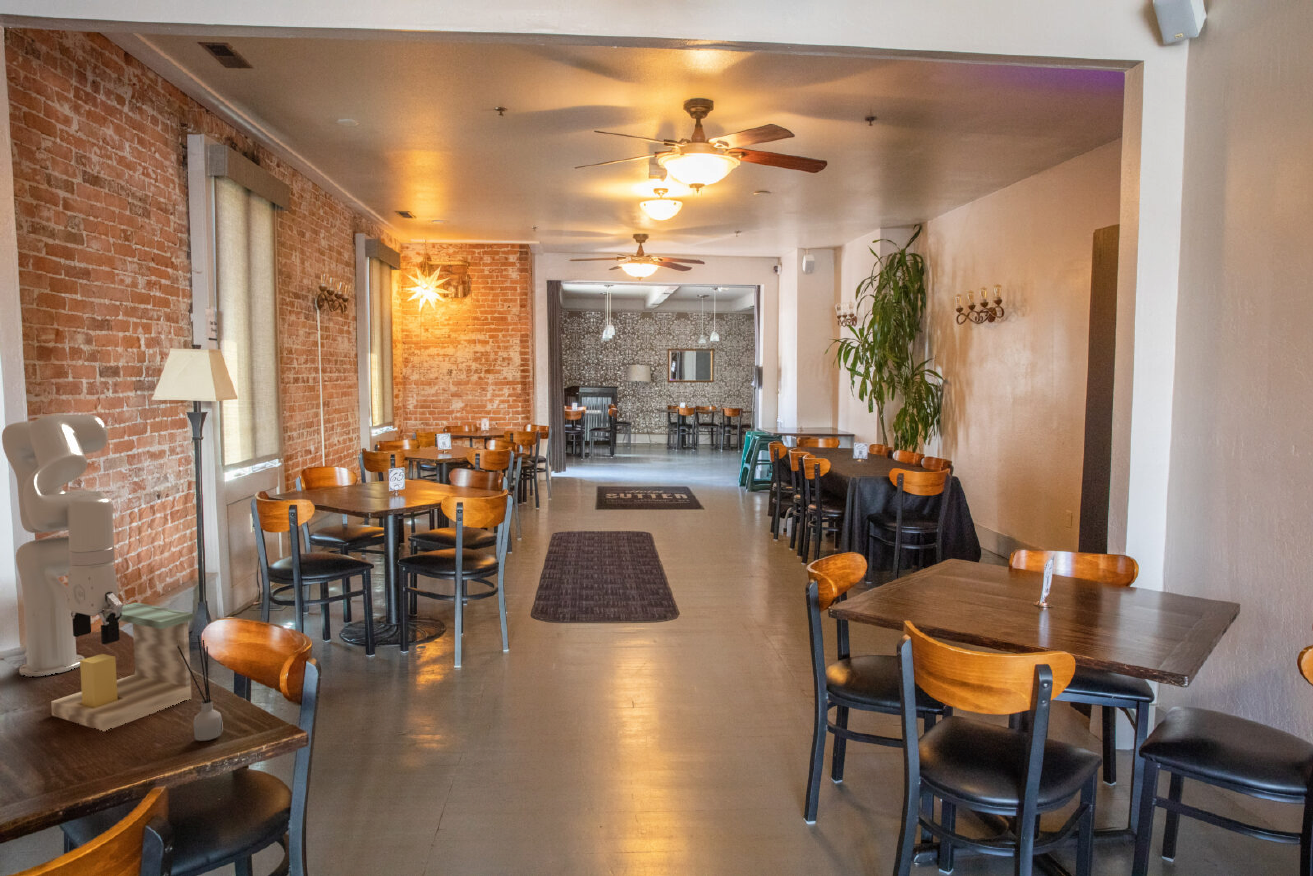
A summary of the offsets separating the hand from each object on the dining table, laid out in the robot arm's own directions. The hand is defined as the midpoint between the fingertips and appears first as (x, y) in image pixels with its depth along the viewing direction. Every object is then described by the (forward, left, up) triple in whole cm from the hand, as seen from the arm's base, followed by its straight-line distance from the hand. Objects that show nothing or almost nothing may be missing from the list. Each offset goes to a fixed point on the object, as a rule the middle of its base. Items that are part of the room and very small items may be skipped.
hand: (96, 638), depth 164 cm
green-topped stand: (0, +5, -16) cm, 17 cm away
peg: (0, 0, -16) cm, 16 cm away
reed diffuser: (+30, +1, -16) cm, 35 cm away
